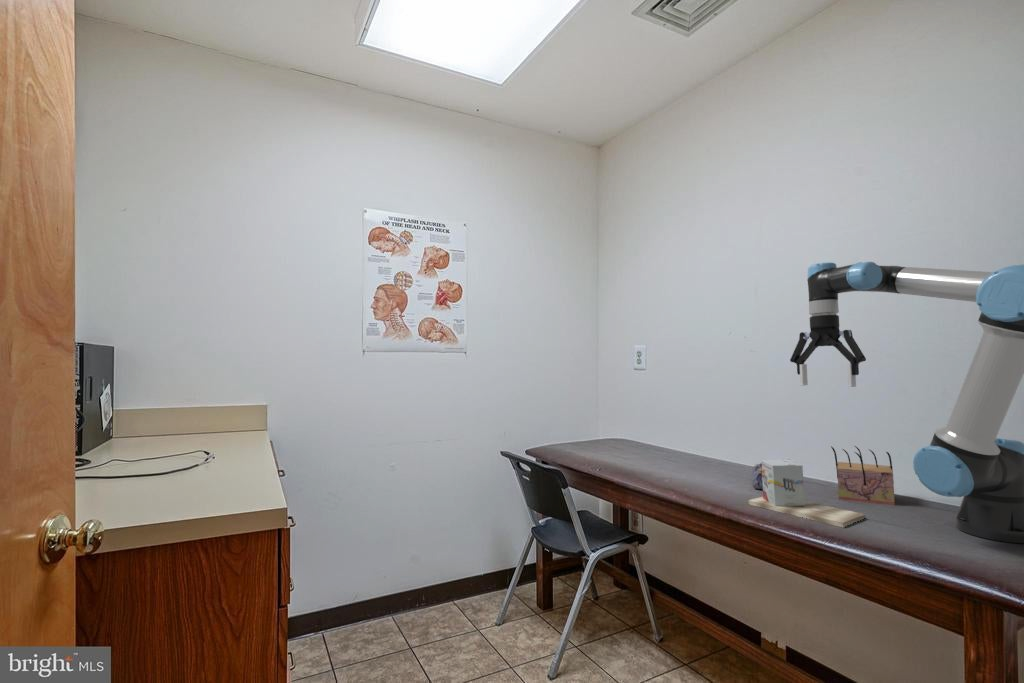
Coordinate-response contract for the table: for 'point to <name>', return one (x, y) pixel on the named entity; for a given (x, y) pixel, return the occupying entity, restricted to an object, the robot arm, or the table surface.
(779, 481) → the ink box
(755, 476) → the rock
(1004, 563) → the table surface
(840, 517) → the board
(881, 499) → the anatomical model
